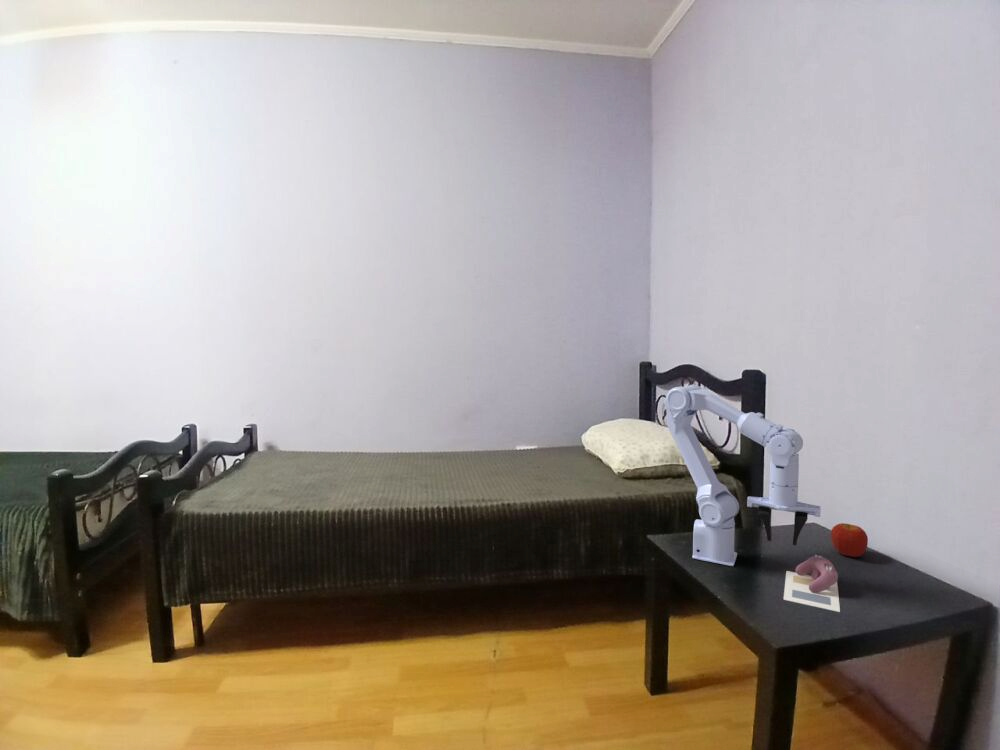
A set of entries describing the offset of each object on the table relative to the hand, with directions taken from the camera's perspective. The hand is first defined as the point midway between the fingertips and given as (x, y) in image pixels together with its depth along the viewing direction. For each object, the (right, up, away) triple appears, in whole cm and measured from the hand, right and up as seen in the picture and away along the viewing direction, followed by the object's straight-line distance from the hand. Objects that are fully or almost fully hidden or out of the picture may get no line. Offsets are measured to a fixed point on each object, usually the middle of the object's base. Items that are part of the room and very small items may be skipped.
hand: (781, 541), depth 119 cm
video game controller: (+6, -9, -3) cm, 11 cm away
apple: (+23, -7, +12) cm, 27 cm away
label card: (+3, -9, -5) cm, 11 cm away
